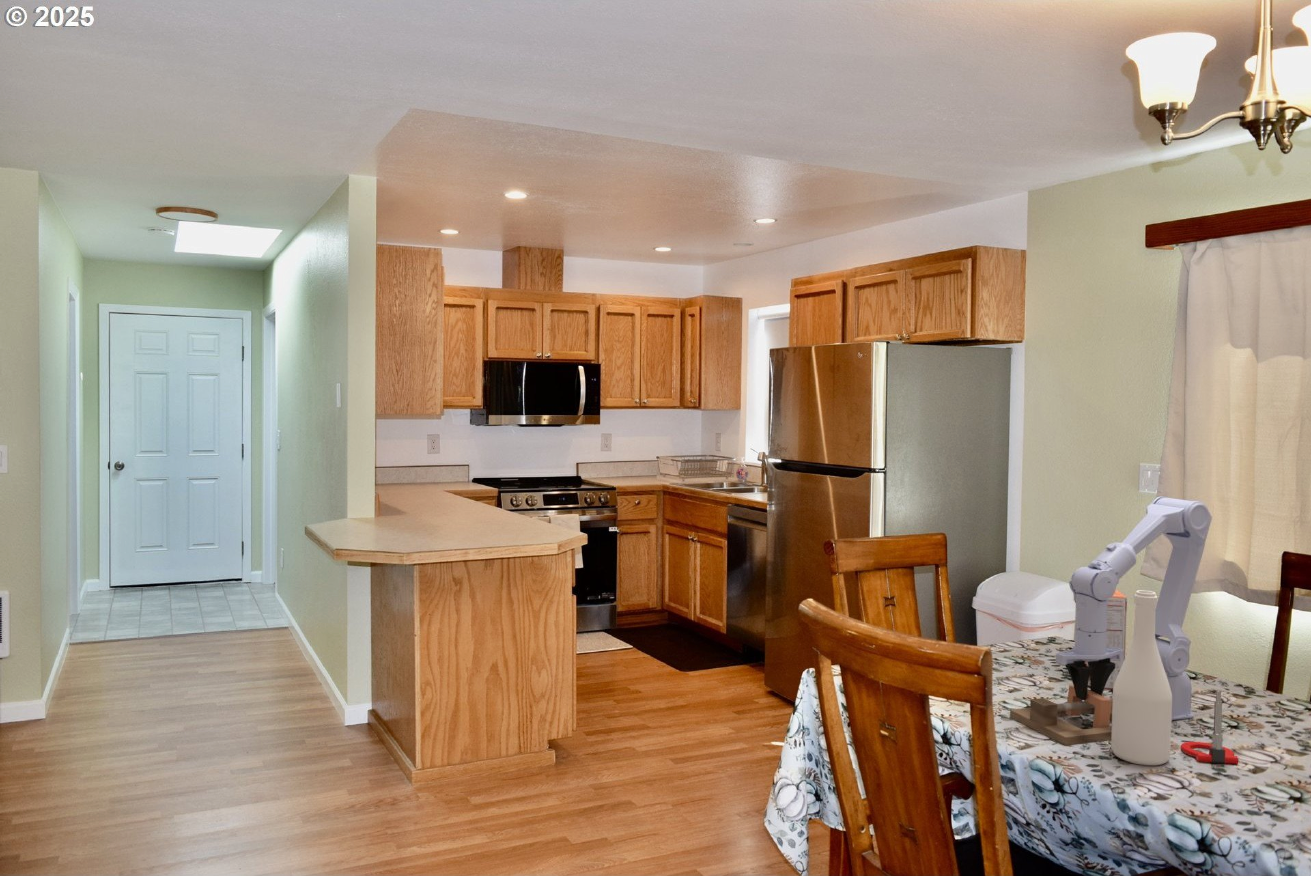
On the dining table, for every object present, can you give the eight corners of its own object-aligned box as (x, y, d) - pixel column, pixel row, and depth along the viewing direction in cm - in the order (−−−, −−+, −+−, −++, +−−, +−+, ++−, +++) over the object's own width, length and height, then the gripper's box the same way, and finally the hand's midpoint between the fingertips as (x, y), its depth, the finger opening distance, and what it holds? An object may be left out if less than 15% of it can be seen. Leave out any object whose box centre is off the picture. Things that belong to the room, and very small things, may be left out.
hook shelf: (1107, 706, 205) (1108, 680, 204) (1168, 732, 189) (1169, 704, 189) (1010, 717, 198) (1010, 690, 197) (1065, 745, 182) (1066, 716, 182)
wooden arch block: (1075, 713, 198) (1079, 685, 198) (1108, 729, 189) (1111, 700, 189) (1065, 713, 197) (1069, 685, 197) (1097, 729, 189) (1101, 700, 188)
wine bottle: (1100, 747, 181) (1106, 586, 180) (1150, 746, 182) (1156, 586, 180) (1128, 767, 172) (1134, 597, 170) (1181, 766, 173) (1187, 597, 171)
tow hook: (1173, 746, 184) (1193, 762, 174) (1175, 677, 184) (1195, 690, 174) (1222, 749, 182) (1244, 766, 173) (1224, 680, 182) (1246, 693, 173)
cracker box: (1081, 670, 230) (1084, 582, 229) (1109, 672, 229) (1112, 583, 228) (1095, 689, 216) (1098, 594, 215) (1125, 690, 215) (1128, 596, 214)
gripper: (1106, 621, 198) (1104, 688, 199) (1046, 626, 194) (1043, 694, 195) (1132, 630, 192) (1130, 699, 192) (1070, 635, 187) (1068, 705, 188)
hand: (1088, 697), depth 193 cm, fingers open, 3 cm apart
